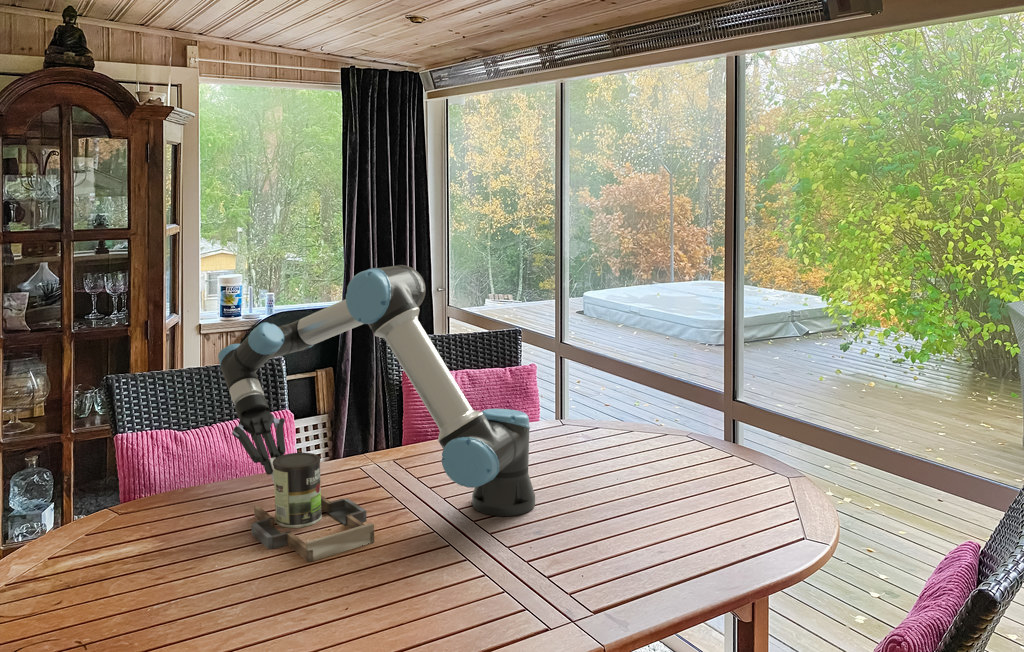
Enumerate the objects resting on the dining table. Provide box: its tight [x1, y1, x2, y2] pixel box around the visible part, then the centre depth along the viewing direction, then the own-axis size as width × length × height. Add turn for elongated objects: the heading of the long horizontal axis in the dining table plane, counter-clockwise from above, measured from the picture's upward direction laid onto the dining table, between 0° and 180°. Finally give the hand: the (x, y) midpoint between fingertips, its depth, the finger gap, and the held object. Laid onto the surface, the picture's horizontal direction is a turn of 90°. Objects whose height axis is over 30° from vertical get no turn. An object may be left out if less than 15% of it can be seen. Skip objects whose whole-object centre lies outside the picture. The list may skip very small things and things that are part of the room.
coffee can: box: [273, 452, 323, 529], centre depth 176 cm, size 10×10×14 cm
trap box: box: [250, 495, 375, 563], centre depth 171 cm, size 28×23×4 cm
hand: (279, 484), depth 184 cm, fingers closed
